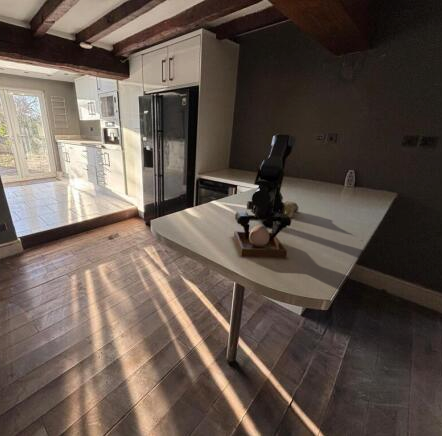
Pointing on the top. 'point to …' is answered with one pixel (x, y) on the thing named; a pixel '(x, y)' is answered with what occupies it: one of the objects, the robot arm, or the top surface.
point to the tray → (249, 250)
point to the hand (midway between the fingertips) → (258, 239)
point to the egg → (259, 236)
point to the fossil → (290, 208)
